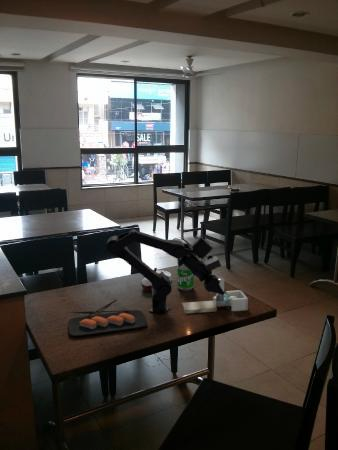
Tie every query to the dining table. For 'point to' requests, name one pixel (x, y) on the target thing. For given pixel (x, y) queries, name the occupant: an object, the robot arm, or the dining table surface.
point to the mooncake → (165, 273)
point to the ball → (231, 299)
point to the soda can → (185, 278)
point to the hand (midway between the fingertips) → (220, 289)
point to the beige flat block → (199, 307)
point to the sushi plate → (106, 322)
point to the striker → (221, 296)
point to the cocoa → (147, 284)
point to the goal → (238, 300)
